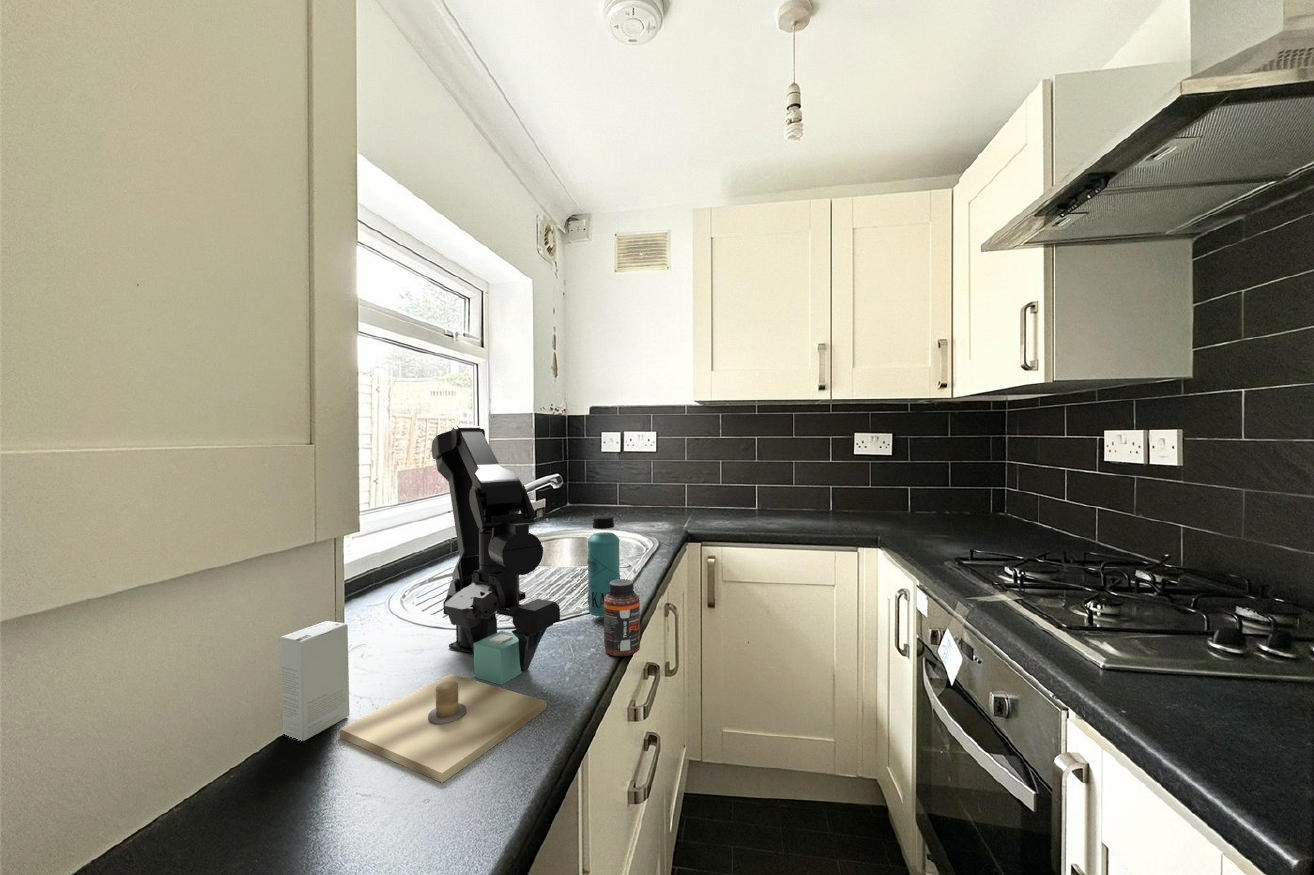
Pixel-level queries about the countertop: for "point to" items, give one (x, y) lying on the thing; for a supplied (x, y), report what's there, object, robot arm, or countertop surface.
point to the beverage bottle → (601, 564)
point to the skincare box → (314, 678)
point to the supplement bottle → (621, 619)
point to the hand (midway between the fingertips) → (501, 665)
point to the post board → (443, 725)
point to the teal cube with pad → (497, 658)
